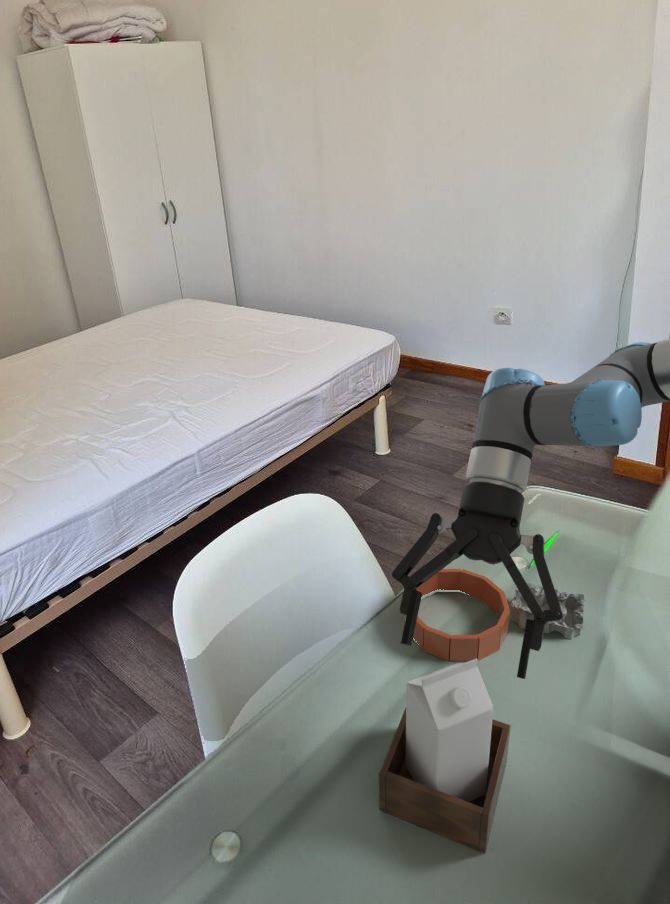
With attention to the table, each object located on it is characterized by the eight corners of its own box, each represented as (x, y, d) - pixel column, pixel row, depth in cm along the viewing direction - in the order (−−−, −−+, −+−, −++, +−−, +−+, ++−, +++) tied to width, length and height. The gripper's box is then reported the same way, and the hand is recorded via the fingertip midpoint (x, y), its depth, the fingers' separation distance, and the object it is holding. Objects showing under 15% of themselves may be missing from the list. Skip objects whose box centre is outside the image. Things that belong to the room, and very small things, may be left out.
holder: (506, 760, 87) (510, 724, 84) (485, 853, 77) (488, 816, 74) (411, 727, 93) (411, 692, 90) (379, 810, 83) (378, 773, 80)
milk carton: (405, 767, 87) (406, 656, 78) (453, 747, 89) (459, 637, 80) (434, 818, 81) (439, 704, 72) (486, 795, 83) (496, 682, 74)
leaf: (561, 532, 128) (562, 529, 128) (529, 572, 119) (530, 568, 119) (556, 530, 129) (557, 527, 129) (524, 570, 120) (525, 566, 119)
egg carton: (507, 625, 108) (509, 605, 106) (515, 595, 114) (517, 575, 112) (580, 644, 104) (583, 624, 102) (584, 611, 110) (587, 591, 108)
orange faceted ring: (519, 609, 111) (521, 588, 109) (486, 676, 99) (488, 653, 97) (428, 578, 119) (429, 557, 117) (388, 637, 107) (388, 615, 105)
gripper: (600, 514, 85) (573, 692, 79) (405, 477, 95) (370, 633, 90) (602, 500, 78) (574, 694, 73) (393, 463, 89) (354, 630, 83)
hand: (461, 661), depth 81 cm, fingers open, 13 cm apart
